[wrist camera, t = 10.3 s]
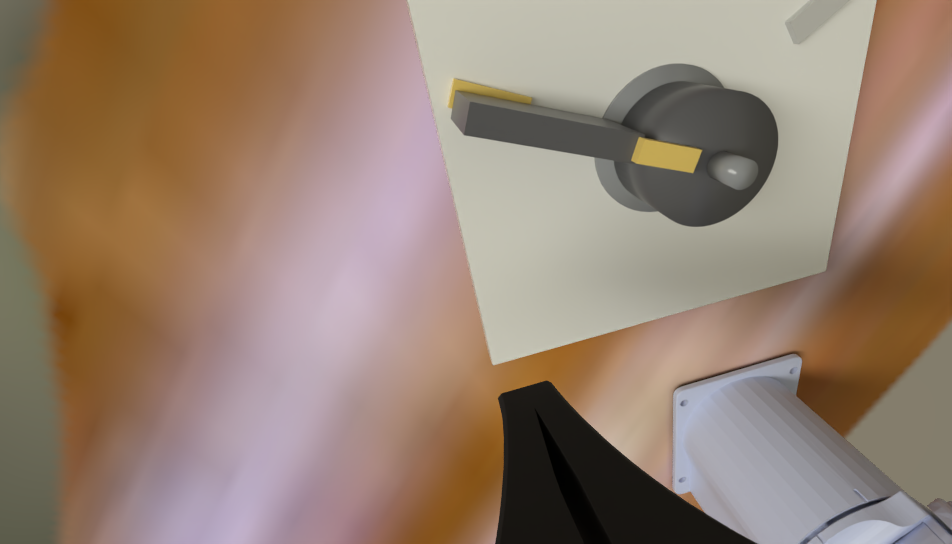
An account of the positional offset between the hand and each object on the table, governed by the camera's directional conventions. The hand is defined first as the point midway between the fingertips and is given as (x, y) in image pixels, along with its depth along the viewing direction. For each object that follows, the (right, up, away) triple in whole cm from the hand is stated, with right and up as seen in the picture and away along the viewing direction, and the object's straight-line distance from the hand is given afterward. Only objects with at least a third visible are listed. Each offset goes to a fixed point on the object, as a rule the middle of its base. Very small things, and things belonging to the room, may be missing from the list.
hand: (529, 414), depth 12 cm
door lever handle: (+4, +9, +6) cm, 12 cm away
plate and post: (+6, +10, +8) cm, 14 cm away
